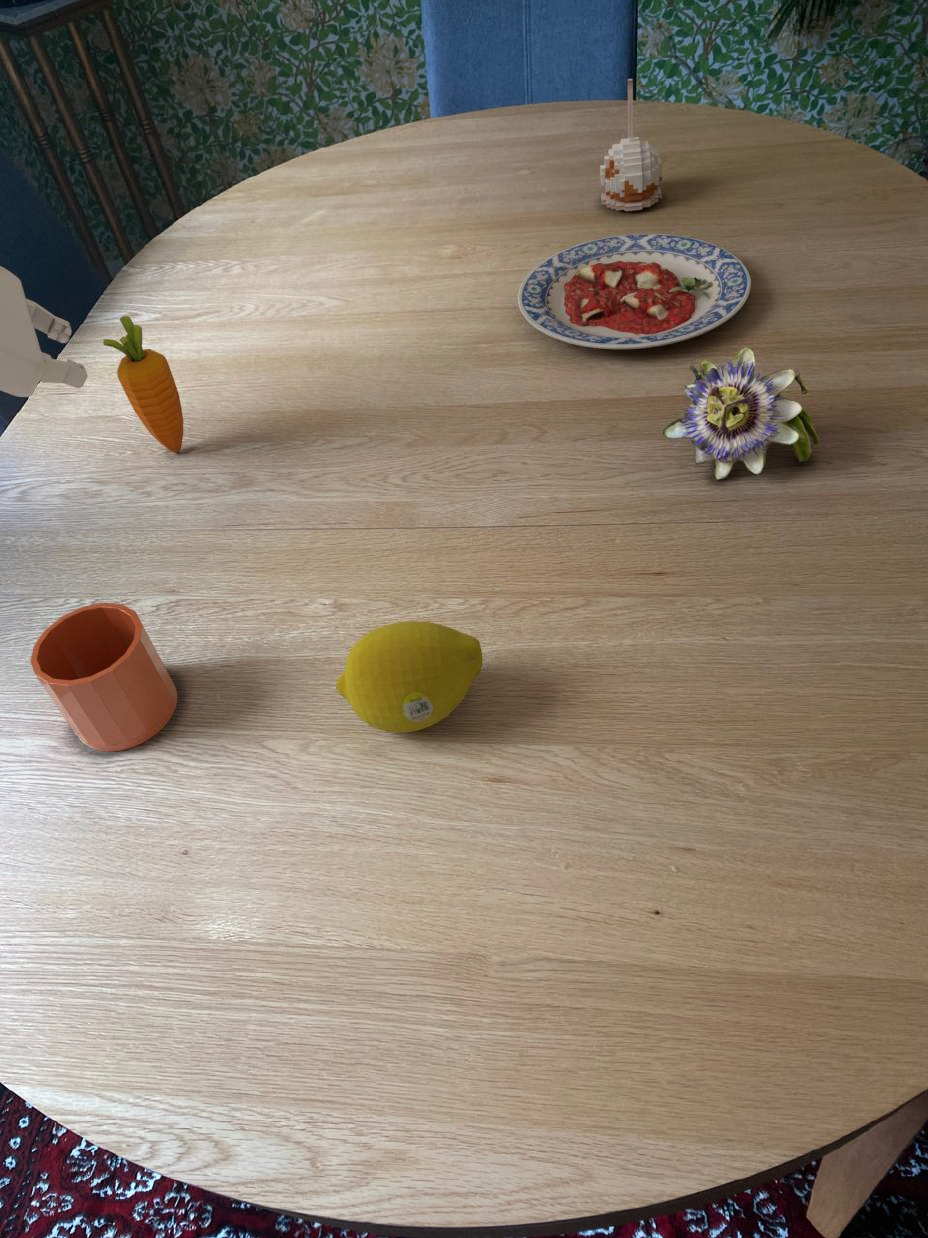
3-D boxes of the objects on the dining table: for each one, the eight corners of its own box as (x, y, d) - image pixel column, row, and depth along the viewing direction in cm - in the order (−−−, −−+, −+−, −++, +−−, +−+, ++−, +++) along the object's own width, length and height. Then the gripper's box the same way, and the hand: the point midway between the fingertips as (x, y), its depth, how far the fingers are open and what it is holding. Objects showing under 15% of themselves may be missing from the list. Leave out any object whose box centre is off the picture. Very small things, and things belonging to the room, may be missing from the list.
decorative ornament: (599, 192, 133) (596, 72, 123) (657, 186, 132) (659, 64, 122) (603, 217, 128) (599, 94, 117) (664, 211, 127) (665, 86, 116)
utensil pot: (69, 761, 75) (22, 694, 69) (82, 682, 81) (40, 614, 75) (174, 740, 75) (136, 672, 70) (180, 662, 81) (145, 593, 75)
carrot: (185, 469, 100) (131, 337, 90) (145, 464, 102) (86, 335, 91) (209, 440, 103) (159, 310, 93) (169, 436, 105) (115, 307, 94)
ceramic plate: (493, 359, 107) (490, 334, 105) (548, 249, 124) (547, 226, 122) (735, 371, 100) (737, 345, 98) (760, 252, 116) (762, 227, 114)
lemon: (343, 758, 72) (318, 688, 66) (352, 677, 77) (329, 606, 72) (490, 746, 71) (477, 674, 65) (489, 665, 76) (476, 592, 71)
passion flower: (720, 520, 92) (644, 443, 86) (735, 436, 98) (664, 357, 92) (832, 484, 84) (757, 395, 78) (842, 394, 90) (772, 304, 84)
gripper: (-64, 310, 76) (109, 377, 85) (-76, 217, 89) (73, 284, 98) (-92, 378, 78) (79, 437, 87) (-100, 278, 92) (49, 338, 101)
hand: (76, 355), depth 93 cm, fingers open, 8 cm apart
